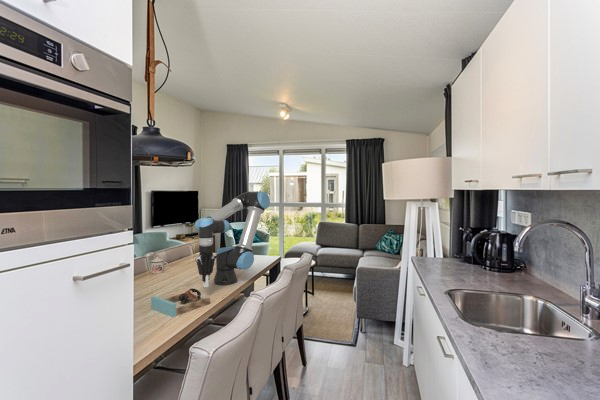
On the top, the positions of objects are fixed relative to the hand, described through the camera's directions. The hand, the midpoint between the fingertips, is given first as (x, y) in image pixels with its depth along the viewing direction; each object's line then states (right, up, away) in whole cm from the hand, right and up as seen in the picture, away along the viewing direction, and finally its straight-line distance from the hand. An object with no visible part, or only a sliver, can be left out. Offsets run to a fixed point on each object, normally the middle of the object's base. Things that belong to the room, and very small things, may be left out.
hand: (205, 286), depth 172 cm
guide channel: (-8, -7, -12) cm, 16 cm away
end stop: (-15, -7, -21) cm, 26 cm away
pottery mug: (-7, -7, -8) cm, 12 cm away
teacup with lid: (-53, -6, +57) cm, 78 cm away
